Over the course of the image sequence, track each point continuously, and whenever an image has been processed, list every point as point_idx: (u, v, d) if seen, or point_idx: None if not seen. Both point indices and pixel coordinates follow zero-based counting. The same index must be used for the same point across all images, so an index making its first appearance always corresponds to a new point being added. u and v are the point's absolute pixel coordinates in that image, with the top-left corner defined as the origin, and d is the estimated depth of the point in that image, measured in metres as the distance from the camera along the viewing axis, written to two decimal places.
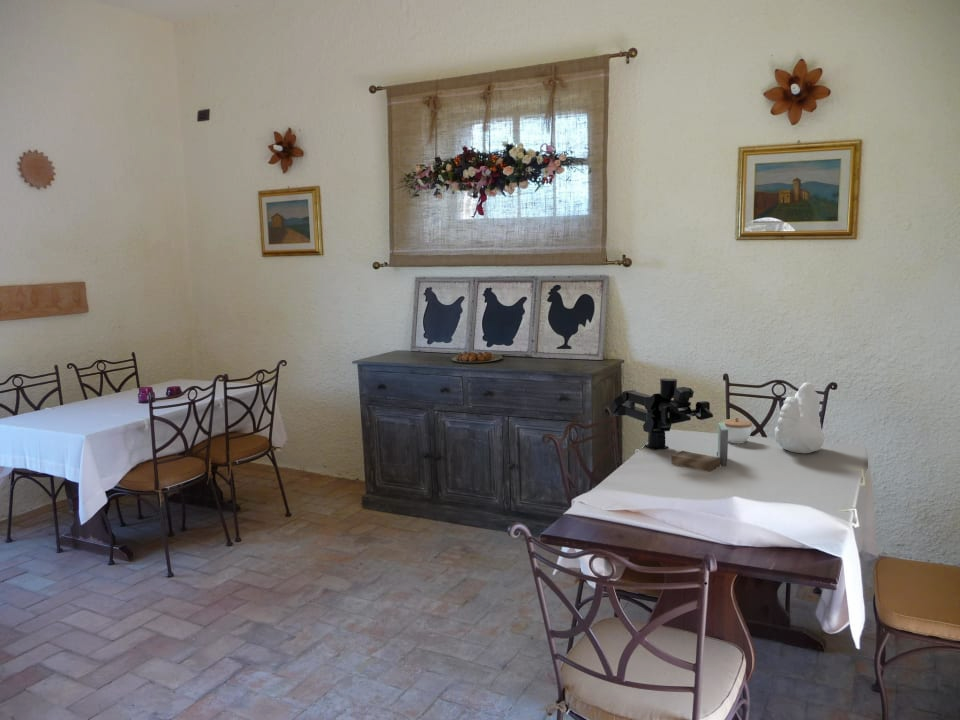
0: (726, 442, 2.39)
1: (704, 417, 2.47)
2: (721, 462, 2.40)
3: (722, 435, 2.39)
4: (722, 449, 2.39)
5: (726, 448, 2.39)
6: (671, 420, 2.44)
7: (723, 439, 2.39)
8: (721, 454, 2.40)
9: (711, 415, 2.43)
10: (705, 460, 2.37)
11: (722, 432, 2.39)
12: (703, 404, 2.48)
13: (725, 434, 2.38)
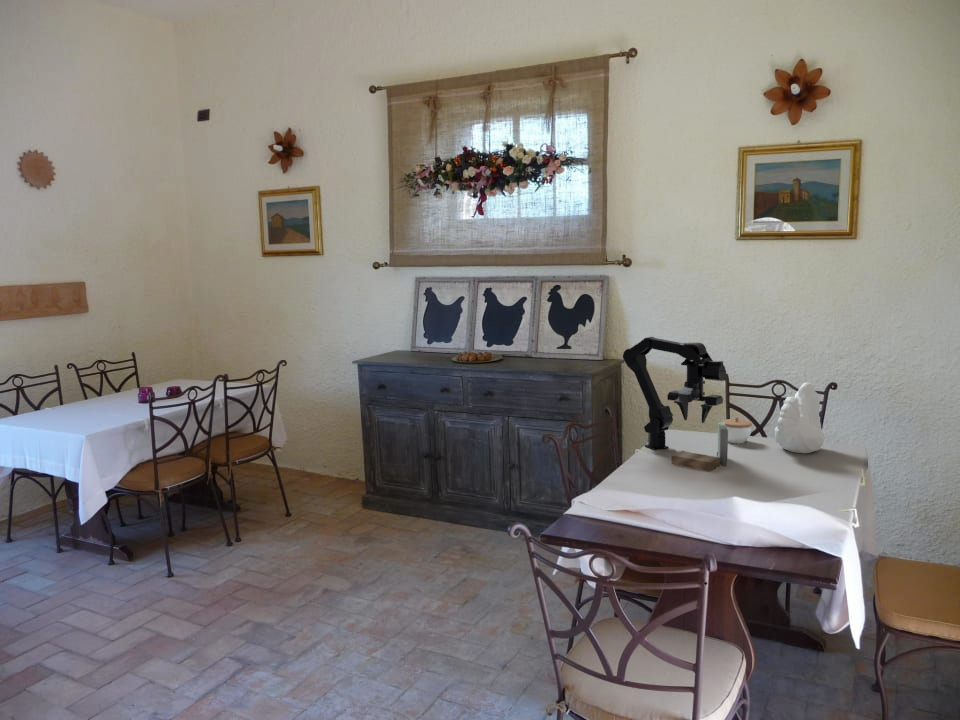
0: (726, 442, 2.39)
1: None
2: (721, 462, 2.40)
3: (722, 435, 2.39)
4: (722, 449, 2.39)
5: (726, 448, 2.39)
6: None
7: (723, 439, 2.39)
8: (721, 454, 2.40)
9: None
10: (705, 460, 2.37)
11: (722, 432, 2.39)
12: (703, 406, 2.48)
13: (725, 434, 2.38)
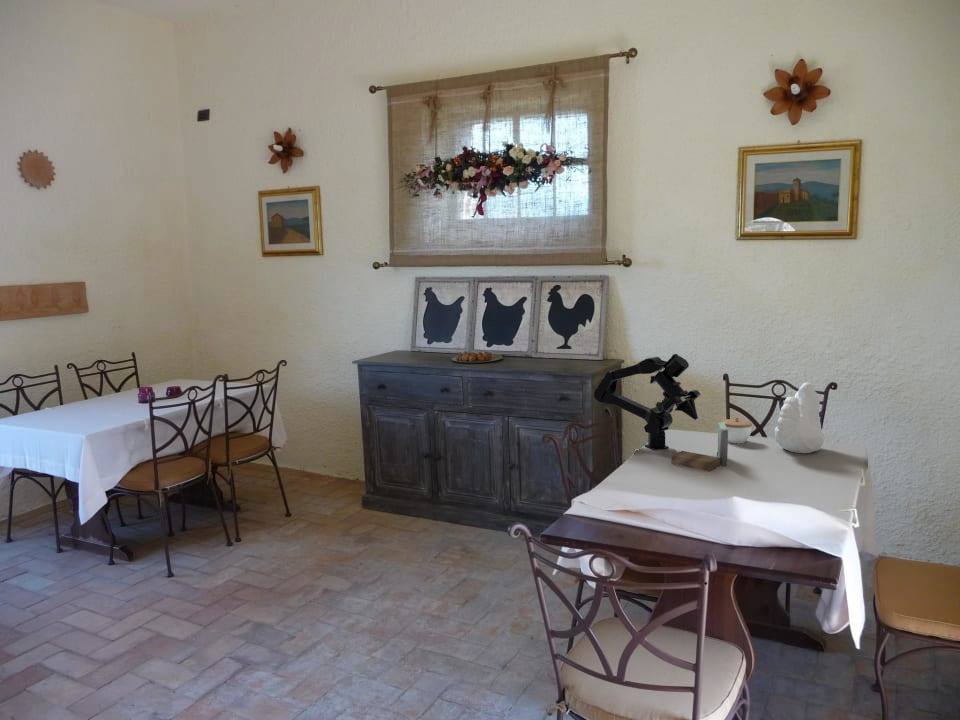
0: (726, 442, 2.39)
1: None
2: (721, 462, 2.40)
3: (722, 435, 2.39)
4: (722, 449, 2.39)
5: (726, 448, 2.39)
6: None
7: (723, 439, 2.39)
8: (721, 454, 2.40)
9: None
10: (705, 460, 2.37)
11: (722, 432, 2.39)
12: None
13: (725, 434, 2.38)
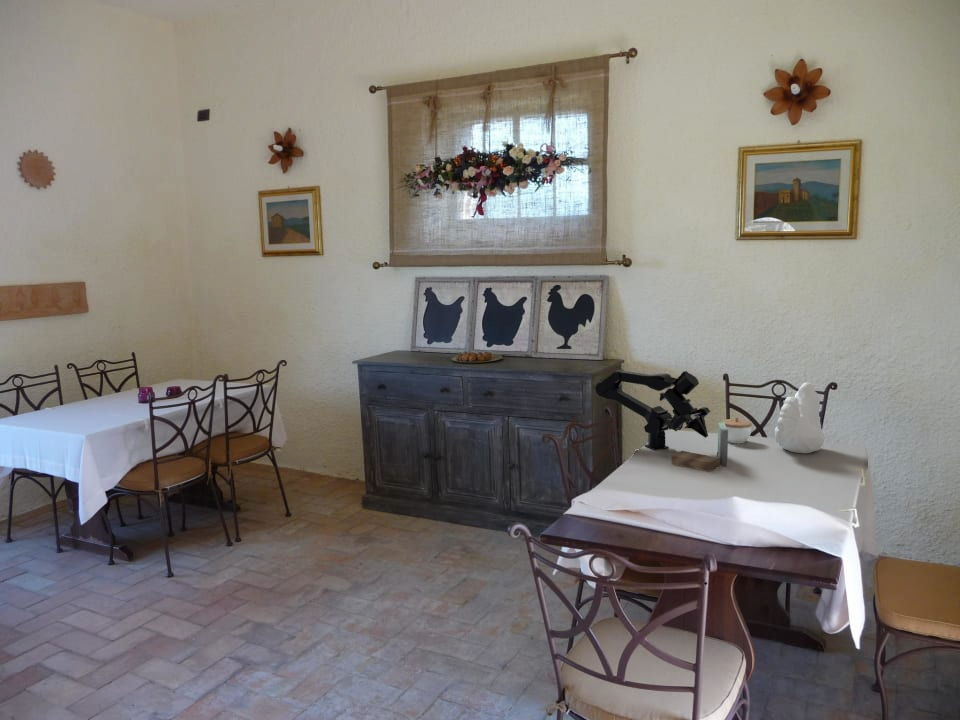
0: (726, 442, 2.39)
1: None
2: (721, 462, 2.40)
3: (722, 435, 2.39)
4: (722, 449, 2.39)
5: (726, 448, 2.39)
6: None
7: (723, 439, 2.39)
8: (721, 454, 2.40)
9: None
10: (705, 460, 2.37)
11: (722, 432, 2.39)
12: None
13: (725, 434, 2.38)
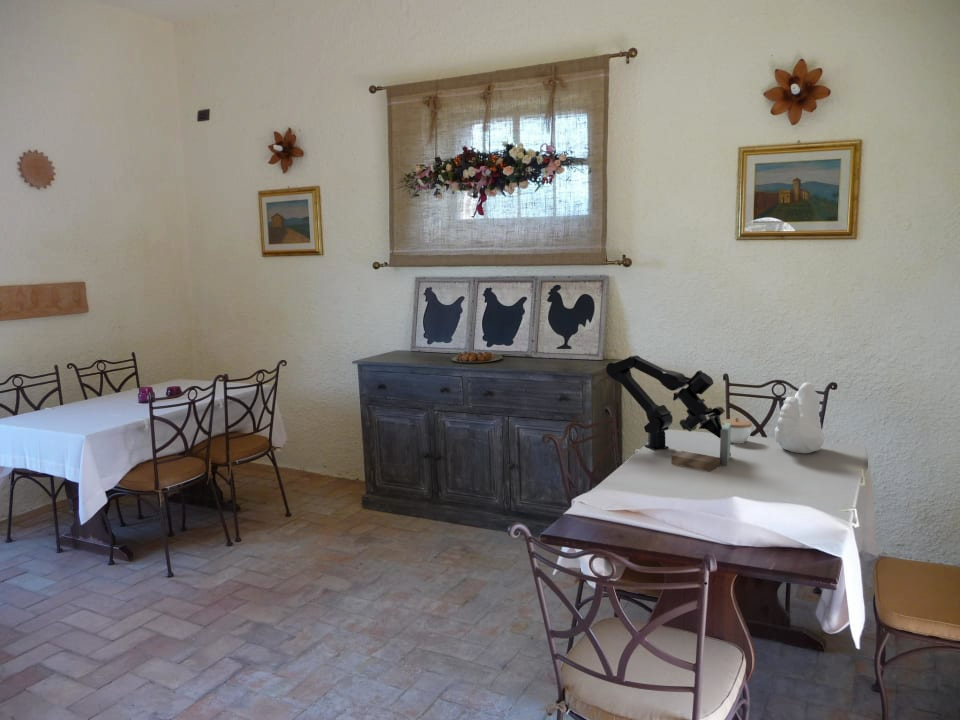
0: (725, 442, 2.39)
1: None
2: (720, 462, 2.40)
3: (721, 435, 2.39)
4: (721, 449, 2.40)
5: (726, 448, 2.39)
6: None
7: (722, 439, 2.39)
8: (721, 454, 2.40)
9: None
10: (705, 460, 2.37)
11: (721, 432, 2.39)
12: None
13: (725, 435, 2.38)
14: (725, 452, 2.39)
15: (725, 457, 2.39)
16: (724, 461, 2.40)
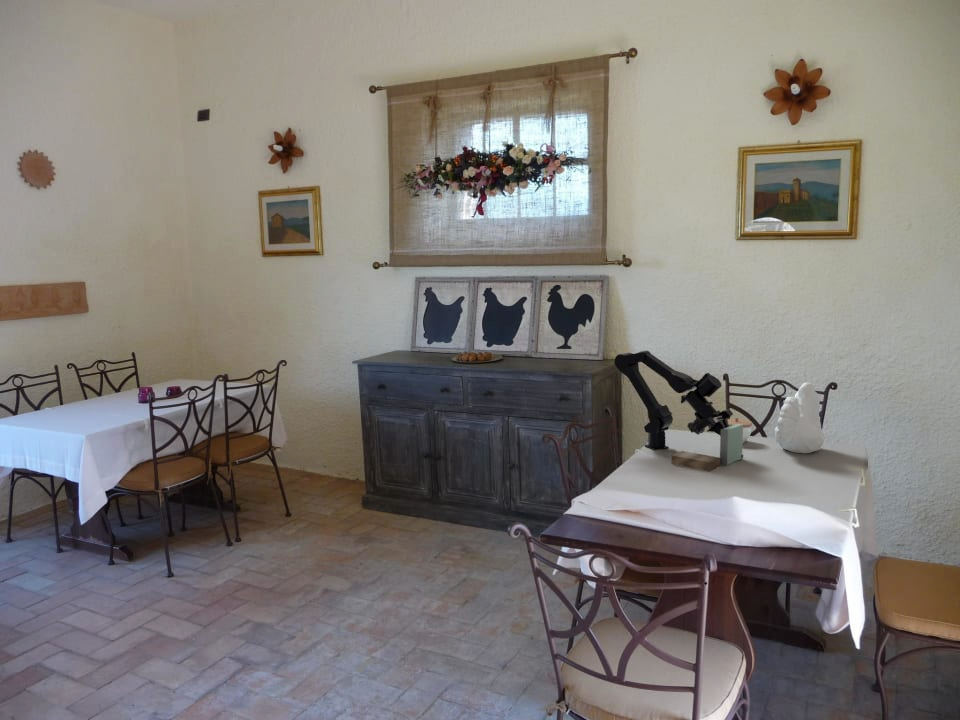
0: (724, 442, 2.39)
1: None
2: (720, 462, 2.41)
3: (721, 435, 2.39)
4: (720, 449, 2.40)
5: (724, 448, 2.39)
6: None
7: (721, 439, 2.39)
8: (720, 454, 2.40)
9: None
10: (705, 460, 2.37)
11: (721, 432, 2.39)
12: None
13: (723, 434, 2.38)
14: (724, 452, 2.39)
15: (724, 457, 2.39)
16: (723, 461, 2.40)
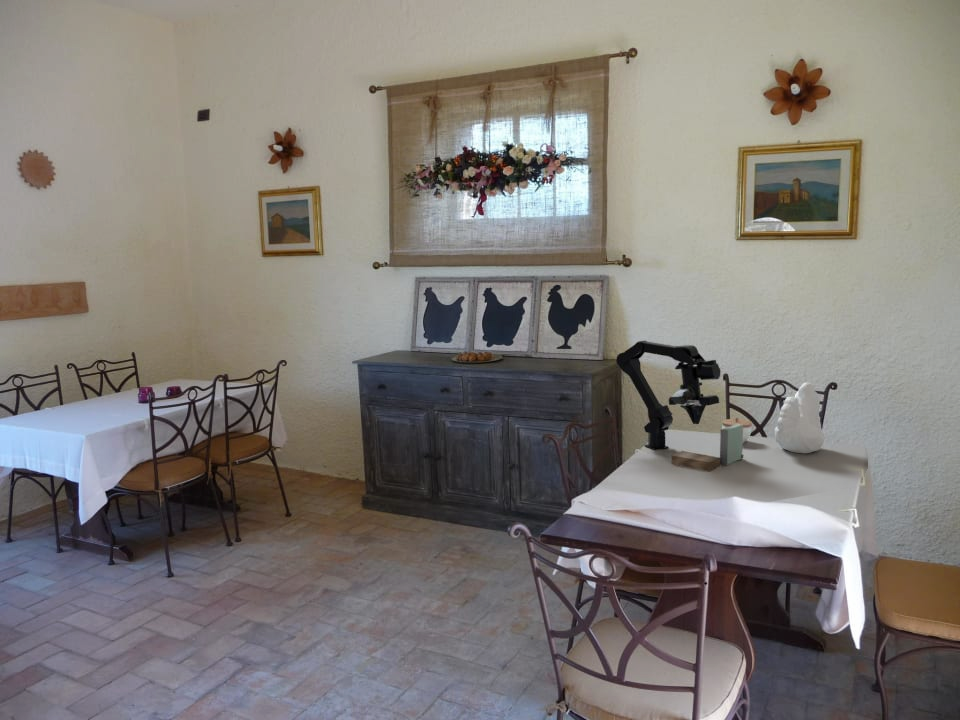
0: (724, 442, 2.39)
1: None
2: (720, 462, 2.41)
3: (721, 435, 2.39)
4: (720, 449, 2.40)
5: (724, 448, 2.39)
6: None
7: (721, 439, 2.39)
8: (720, 454, 2.40)
9: None
10: (705, 460, 2.37)
11: (721, 432, 2.39)
12: (693, 407, 2.51)
13: (723, 434, 2.38)
14: (724, 452, 2.39)
15: (724, 457, 2.39)
16: (723, 461, 2.40)
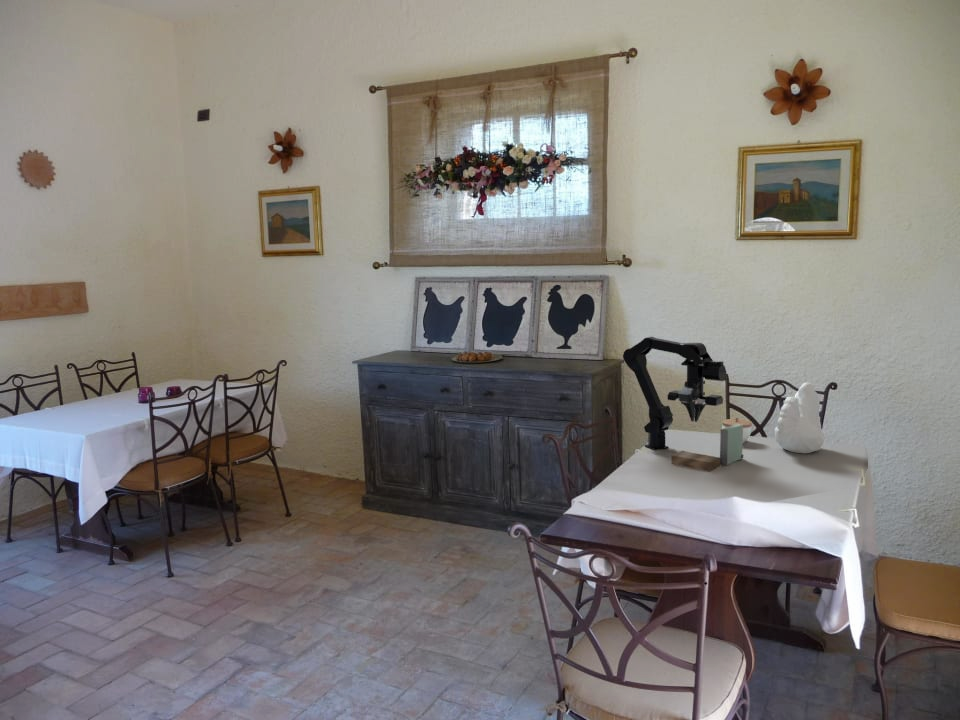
0: (724, 442, 2.39)
1: None
2: (720, 462, 2.41)
3: (721, 435, 2.39)
4: (720, 449, 2.40)
5: (724, 448, 2.39)
6: None
7: (721, 439, 2.39)
8: (720, 454, 2.40)
9: None
10: (705, 460, 2.37)
11: (721, 432, 2.39)
12: (696, 405, 2.50)
13: (723, 434, 2.38)
14: (724, 452, 2.39)
15: (724, 457, 2.39)
16: (723, 461, 2.40)
